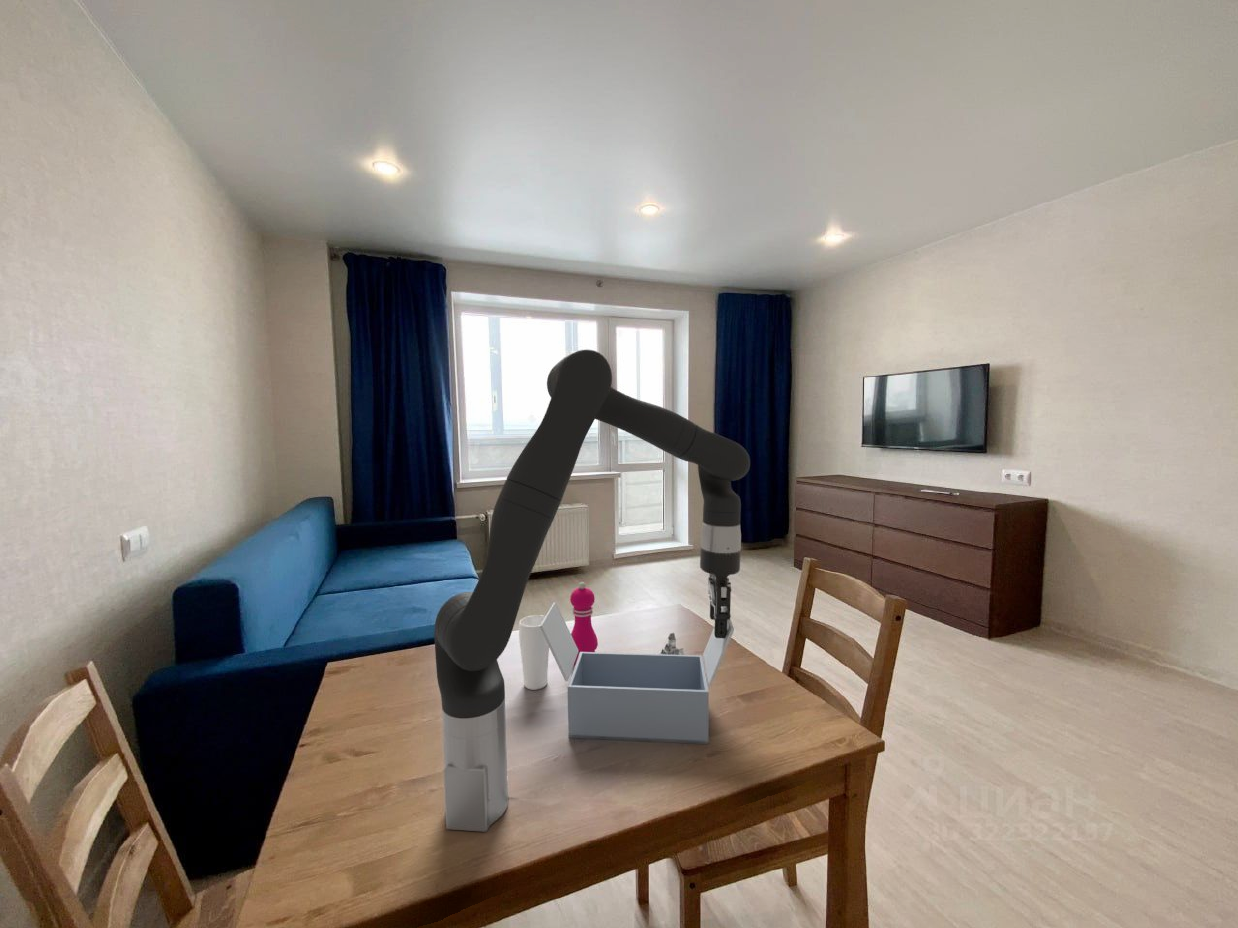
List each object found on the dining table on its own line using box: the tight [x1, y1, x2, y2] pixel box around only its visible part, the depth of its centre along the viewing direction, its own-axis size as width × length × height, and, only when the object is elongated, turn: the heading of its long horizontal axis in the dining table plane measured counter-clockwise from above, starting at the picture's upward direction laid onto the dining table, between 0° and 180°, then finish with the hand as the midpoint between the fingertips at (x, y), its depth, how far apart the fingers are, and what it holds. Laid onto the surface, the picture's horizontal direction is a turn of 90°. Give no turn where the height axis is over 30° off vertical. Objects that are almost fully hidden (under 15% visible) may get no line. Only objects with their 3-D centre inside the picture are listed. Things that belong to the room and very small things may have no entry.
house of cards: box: [659, 632, 685, 655], centre depth 120 cm, size 9×9×8 cm
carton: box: [567, 651, 710, 745], centre depth 97 cm, size 14×26×10 cm, turn 85°
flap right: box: [702, 607, 735, 687], centre depth 94 cm, size 12×12×1 cm
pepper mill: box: [569, 581, 599, 666], centre depth 120 cm, size 7×7×20 cm
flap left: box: [540, 601, 579, 682], centre depth 97 cm, size 12×12×1 cm
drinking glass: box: [518, 614, 550, 691], centre depth 109 cm, size 7×7×15 cm
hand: (717, 627), depth 95 cm, fingers open, 8 cm apart
